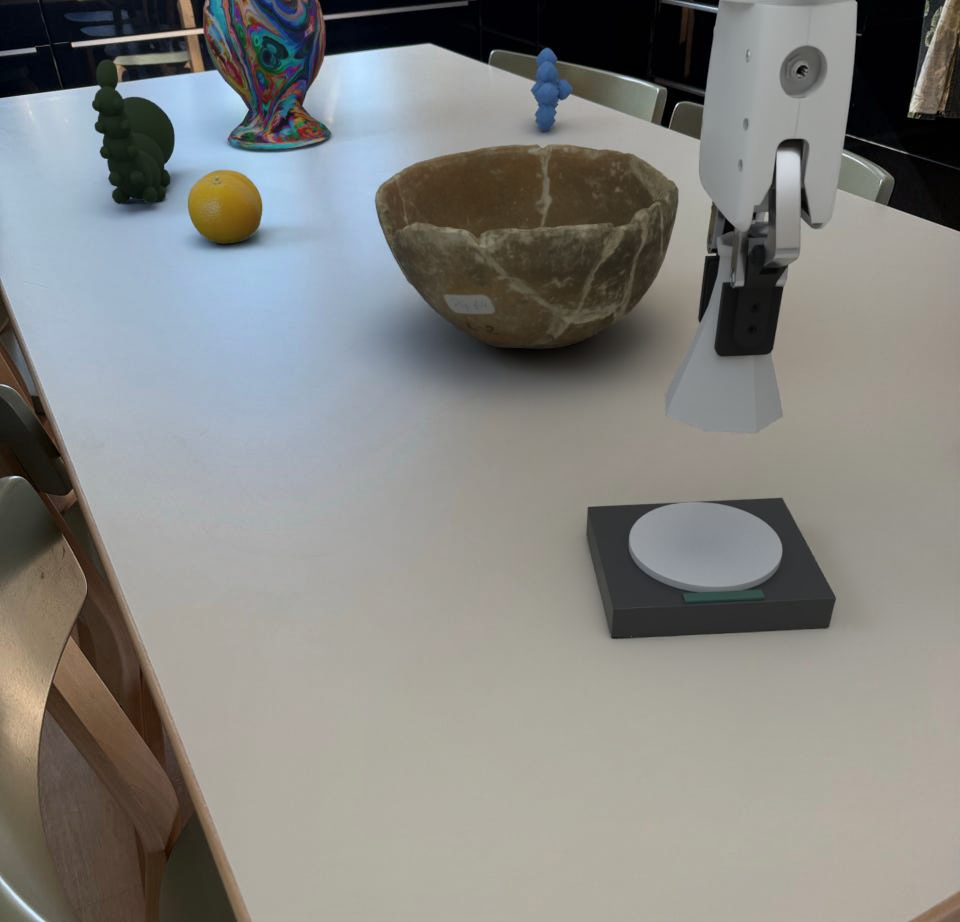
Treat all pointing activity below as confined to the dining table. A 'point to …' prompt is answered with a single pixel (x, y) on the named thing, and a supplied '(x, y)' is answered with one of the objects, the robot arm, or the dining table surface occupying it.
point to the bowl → (529, 238)
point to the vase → (269, 66)
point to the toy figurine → (132, 140)
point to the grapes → (548, 89)
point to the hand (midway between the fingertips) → (734, 335)
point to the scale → (705, 568)
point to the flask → (723, 374)
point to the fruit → (225, 206)
